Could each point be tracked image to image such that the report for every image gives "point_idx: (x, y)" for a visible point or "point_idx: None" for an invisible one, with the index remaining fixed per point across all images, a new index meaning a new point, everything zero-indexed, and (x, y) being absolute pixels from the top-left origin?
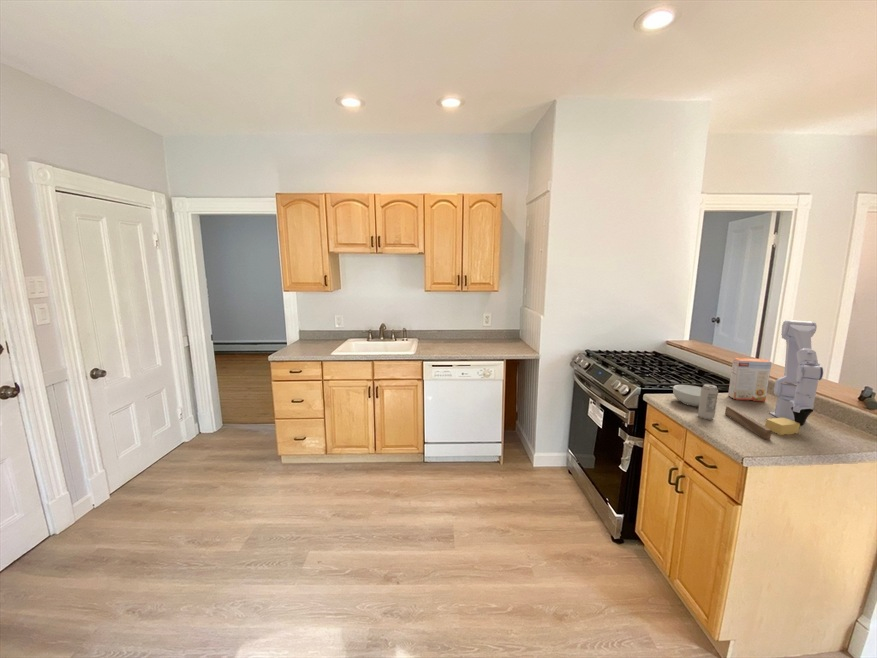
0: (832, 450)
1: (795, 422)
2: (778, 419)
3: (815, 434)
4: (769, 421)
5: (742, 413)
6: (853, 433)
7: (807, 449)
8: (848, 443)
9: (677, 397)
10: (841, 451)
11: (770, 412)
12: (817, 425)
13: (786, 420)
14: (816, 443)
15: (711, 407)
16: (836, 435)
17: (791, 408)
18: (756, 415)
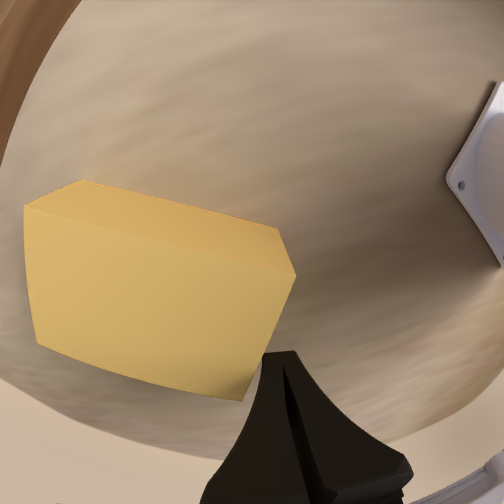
0: (159, 442)
1: (230, 381)
2: (138, 277)
3: (321, 377)
4: (31, 236)
5: (3, 12)
6: (456, 395)
7: (61, 397)
8: None
9: None
10: (186, 453)
11: (501, 88)
12: (478, 316)
13: (202, 329)
14: (170, 411)
15: None
16: (391, 401)
17: (211, 500)
18: (374, 8)
